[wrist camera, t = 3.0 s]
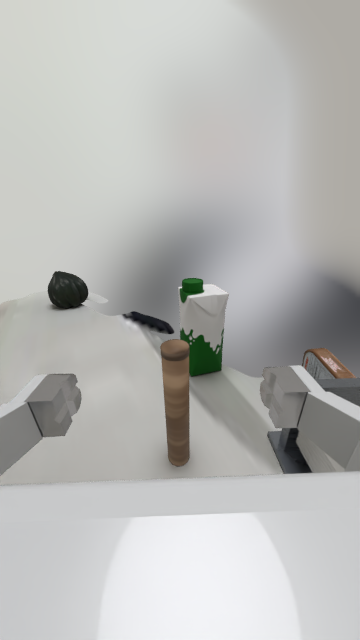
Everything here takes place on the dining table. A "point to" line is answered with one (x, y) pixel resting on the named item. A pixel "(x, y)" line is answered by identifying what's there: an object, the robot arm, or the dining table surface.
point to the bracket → (300, 450)
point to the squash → (67, 290)
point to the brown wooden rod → (176, 398)
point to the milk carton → (202, 324)
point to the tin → (324, 365)
